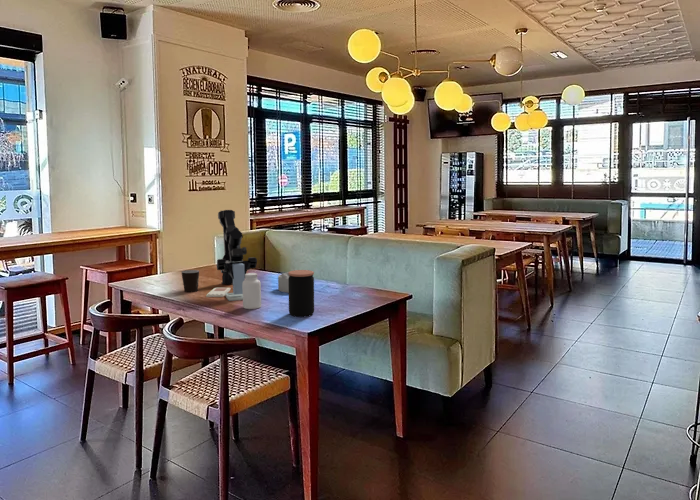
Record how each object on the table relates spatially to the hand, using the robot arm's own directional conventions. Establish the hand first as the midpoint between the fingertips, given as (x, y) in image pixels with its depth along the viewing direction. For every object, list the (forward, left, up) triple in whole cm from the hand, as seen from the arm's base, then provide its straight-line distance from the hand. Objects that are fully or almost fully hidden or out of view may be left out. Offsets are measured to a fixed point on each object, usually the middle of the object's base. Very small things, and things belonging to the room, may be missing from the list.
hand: (239, 278), depth 263 cm
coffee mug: (+5, -31, -10) cm, 33 cm away
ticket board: (0, -16, -10) cm, 19 cm away
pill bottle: (+8, +19, -10) cm, 22 cm away
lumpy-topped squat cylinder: (-28, +5, -10) cm, 30 cm away
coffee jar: (+2, +44, -10) cm, 45 cm away
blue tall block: (-1, -1, -8) cm, 8 cm away
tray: (-1, -1, -10) cm, 10 cm away
